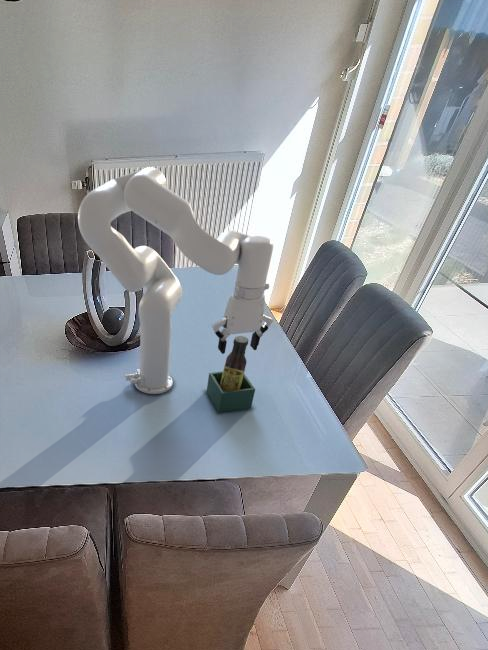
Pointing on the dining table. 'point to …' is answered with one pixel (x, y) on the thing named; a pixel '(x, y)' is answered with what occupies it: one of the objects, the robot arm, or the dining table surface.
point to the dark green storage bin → (229, 394)
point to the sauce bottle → (235, 365)
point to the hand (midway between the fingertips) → (237, 349)
